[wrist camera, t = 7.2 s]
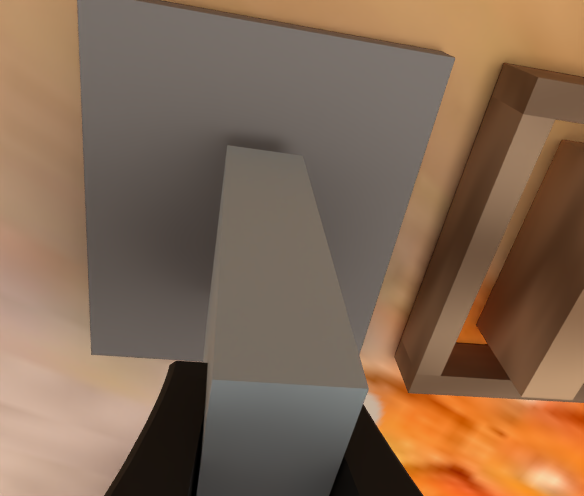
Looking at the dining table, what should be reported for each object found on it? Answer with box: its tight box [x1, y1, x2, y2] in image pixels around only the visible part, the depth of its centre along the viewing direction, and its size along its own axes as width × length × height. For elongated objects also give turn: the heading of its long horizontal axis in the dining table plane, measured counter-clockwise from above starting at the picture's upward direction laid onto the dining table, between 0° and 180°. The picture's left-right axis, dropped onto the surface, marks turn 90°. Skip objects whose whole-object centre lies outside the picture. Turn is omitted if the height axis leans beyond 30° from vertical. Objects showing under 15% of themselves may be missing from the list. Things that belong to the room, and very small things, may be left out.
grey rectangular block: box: [194, 145, 369, 496], centre depth 11 cm, size 6×2×8 cm, turn 170°
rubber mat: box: [77, 0, 455, 362], centre depth 16 cm, size 12×10×1 cm
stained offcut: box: [476, 140, 584, 400], centre depth 17 cm, size 8×2×4 cm, turn 170°
